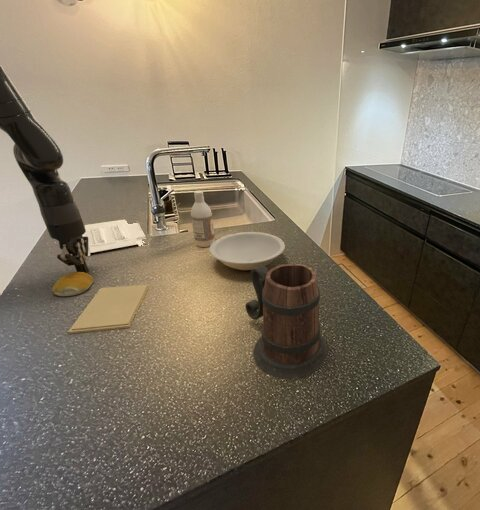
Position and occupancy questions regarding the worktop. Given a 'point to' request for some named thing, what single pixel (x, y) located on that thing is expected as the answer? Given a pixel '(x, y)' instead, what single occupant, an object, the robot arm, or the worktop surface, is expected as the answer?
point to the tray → (113, 235)
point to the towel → (111, 309)
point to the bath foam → (202, 221)
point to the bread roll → (72, 284)
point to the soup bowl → (247, 249)
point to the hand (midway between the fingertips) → (83, 273)
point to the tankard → (287, 320)
